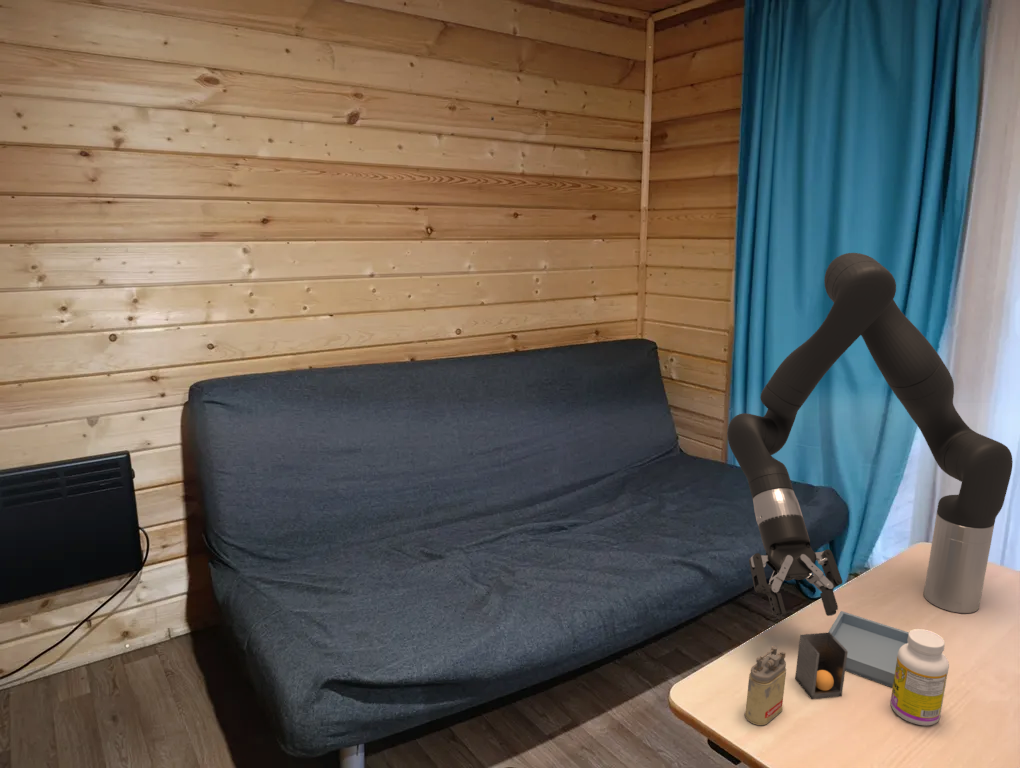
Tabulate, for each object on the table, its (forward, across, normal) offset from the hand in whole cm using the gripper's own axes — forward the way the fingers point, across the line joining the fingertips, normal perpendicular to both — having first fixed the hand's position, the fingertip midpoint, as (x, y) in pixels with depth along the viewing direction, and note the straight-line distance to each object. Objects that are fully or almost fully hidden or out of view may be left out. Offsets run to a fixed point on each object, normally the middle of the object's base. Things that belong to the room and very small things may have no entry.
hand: (807, 616), depth 119 cm
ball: (+10, 0, +1) cm, 10 cm away
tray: (+5, +13, +8) cm, 16 cm away
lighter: (+14, -11, 0) cm, 17 cm away
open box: (+10, 0, +3) cm, 11 cm away
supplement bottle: (+15, +12, -2) cm, 19 cm away
